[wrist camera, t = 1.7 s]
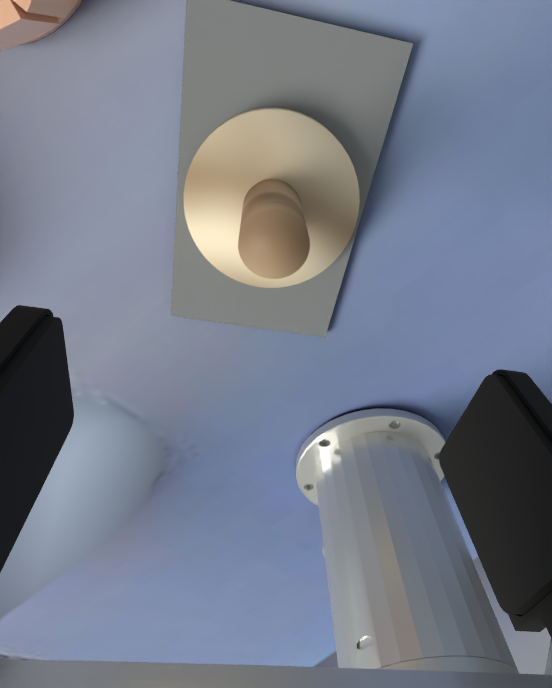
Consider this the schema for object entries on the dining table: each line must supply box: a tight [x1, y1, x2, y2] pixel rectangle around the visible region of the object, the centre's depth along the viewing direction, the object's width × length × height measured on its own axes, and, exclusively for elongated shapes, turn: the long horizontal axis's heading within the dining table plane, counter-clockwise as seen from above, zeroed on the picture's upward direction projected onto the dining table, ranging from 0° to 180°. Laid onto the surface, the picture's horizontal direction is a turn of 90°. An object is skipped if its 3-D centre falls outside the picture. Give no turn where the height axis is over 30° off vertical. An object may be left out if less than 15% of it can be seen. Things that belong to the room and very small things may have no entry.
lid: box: [184, 107, 360, 288], centre depth 20 cm, size 9×9×6 cm
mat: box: [171, 0, 413, 337], centre depth 23 cm, size 16×10×1 cm, turn 170°
